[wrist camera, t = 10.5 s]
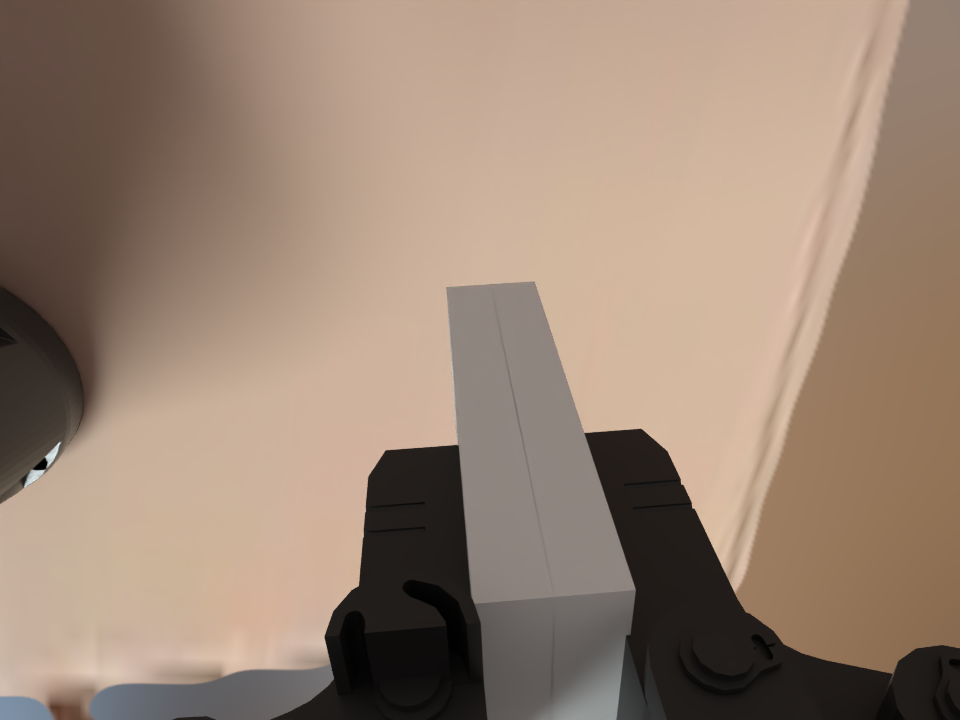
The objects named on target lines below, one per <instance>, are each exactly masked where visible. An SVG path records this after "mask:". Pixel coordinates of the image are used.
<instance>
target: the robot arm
mask: <svg viewBox="0 0 960 720" xmlns="http://www.w3.org/2000/svg"><path fill="white" fill-rule="evenodd" d="M446 289H447V304H448V319H449V334H450V350H451V365H452V380H453V395H454V410H455V424H456V437H457V445H452V446H438V447H425V448H412V449H399V450H386V451H385V453H384V454H383V456H382V457H381V459H380V460H379V462H378V463H377V465H376V466H375V468H374V469H373V471H372V472H371V474H370V475H369V477H368V487H367V499H366V512H365V522H364V538H363V546H362V557H361V569H360V581H359V586H358V587H357V588H355V589H353V590H352V591H351V592H350V593H349V594H348V595H347V596H346V598H345V599H344V600H343V601H342V602H341V603H340V604H339V606H338V607H337V608H336V609H335V610H334V611H333V614H332V617H331V620H330V622H329V625H328V628H327V631H326V634H325V641H326V645H327V650H328V654H329V658H330V663H331V667H332V671H333V676H334V680H333V681H332V682H331V683H330V685H329V686H328V687H327V688H326V689H324V690H323V691H322V692H321V693H319V694H318V695H317V696H316V697H314V698H313V699H312V700H311V701H309V702H307V703H306V704H303V705H302V706H300V707H298V708H296V709H294V710H292V711H290V712H288V713H286V714H283V715H281V716H278V717H276V718H273V719H271V720H960V648H955V647H949V646H944V645H940V646H932V647H925V648H917V649H915V650H914V651H912V652H911V653H909V654H908V655H906V656H905V657H904V658H902V659H901V660H899V661H898V663H897V666H896V668H895V670H894V672H893V674H890V673H886V672H880V671H876V670H870V669H866V668H860V667H856V666H850V665H846V664H841V663H836V662H831V661H826V660H822V659H819V658H816V657H812V656H809V655H805V654H802V653H800V652H798V651H796V650H794V649H792V648H790V647H788V646H786V645H784V644H783V643H782V642H781V640H780V639H779V638H778V636H777V635H776V634H775V633H774V631H773V630H771V629H770V628H769V627H767V626H766V625H764V624H763V623H762V622H760V621H759V620H758V619H756V618H755V617H754V616H752V615H751V614H749V613H746V612H745V611H744V609H743V607H742V606H741V604H740V602H739V601H738V599H737V597H736V595H735V593H734V591H733V589H732V587H731V585H730V582H729V580H728V578H727V576H726V574H725V572H724V570H723V568H722V566H721V563H720V561H719V559H718V557H717V555H716V553H715V551H714V549H713V547H712V544H711V542H710V540H709V538H708V536H707V534H706V532H705V530H704V528H703V525H702V523H701V521H700V519H699V517H698V515H697V513H696V511H695V509H692V502H691V500H690V498H689V496H688V494H687V492H686V490H685V487H684V485H681V479H680V477H679V475H678V473H677V471H676V468H675V466H674V464H673V462H672V460H671V458H670V456H669V454H668V452H667V451H666V450H665V449H664V448H663V447H662V446H661V445H659V444H658V443H657V442H656V441H655V440H654V439H653V438H651V437H650V436H649V435H648V434H647V433H646V432H644V431H643V430H642V429H633V430H620V431H606V432H593V433H584V431H583V428H582V425H581V422H580V419H579V416H578V412H577V409H576V406H575V403H574V400H573V397H572V394H571V391H570V388H569V385H568V382H567V379H566V376H565V373H564V370H563V367H562V364H561V361H560V358H559V355H558V352H557V348H556V345H555V342H554V339H553V336H552V333H551V330H550V327H549V324H548V321H547V318H546V315H545V312H544V309H543V306H542V303H541V300H540V297H539V294H538V291H537V288H536V284H535V282H520V283H505V284H489V285H474V286H458V287H446ZM82 410H83V392H82V385H81V381H80V377H79V374H78V371H77V368H76V366H75V364H74V362H73V359H72V358H71V356H70V354H69V352H68V350H67V349H66V347H65V346H64V344H63V343H62V341H61V340H60V339H59V337H58V336H57V335H56V333H55V332H54V331H53V330H52V329H51V327H50V326H49V325H48V324H47V323H46V322H45V321H44V320H43V319H42V318H41V317H40V316H39V315H38V314H37V313H35V312H34V311H33V310H32V309H31V308H30V307H28V306H27V305H26V304H25V303H23V302H22V301H20V300H19V299H18V298H16V297H15V296H13V295H12V294H10V293H9V292H7V291H6V290H4V289H2V288H1V287H0V504H1V503H3V502H4V501H6V500H7V499H9V498H10V497H12V496H13V495H15V494H16V493H18V492H19V491H21V490H22V489H23V488H25V487H27V486H28V485H30V484H31V483H33V482H34V481H36V480H37V479H39V478H40V477H41V476H42V475H44V474H45V473H46V472H47V471H48V470H49V469H50V468H51V467H52V466H53V465H54V464H55V462H56V461H57V460H58V459H59V457H60V456H61V454H62V453H63V451H64V450H65V448H66V447H67V445H68V444H69V442H70V441H71V439H72V438H73V436H74V434H75V432H76V430H77V428H78V426H79V423H80V420H81V416H82ZM174 720H215V719H212V718H210V717H207V716H206V717H186V718H176V719H174Z"/></svg>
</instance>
